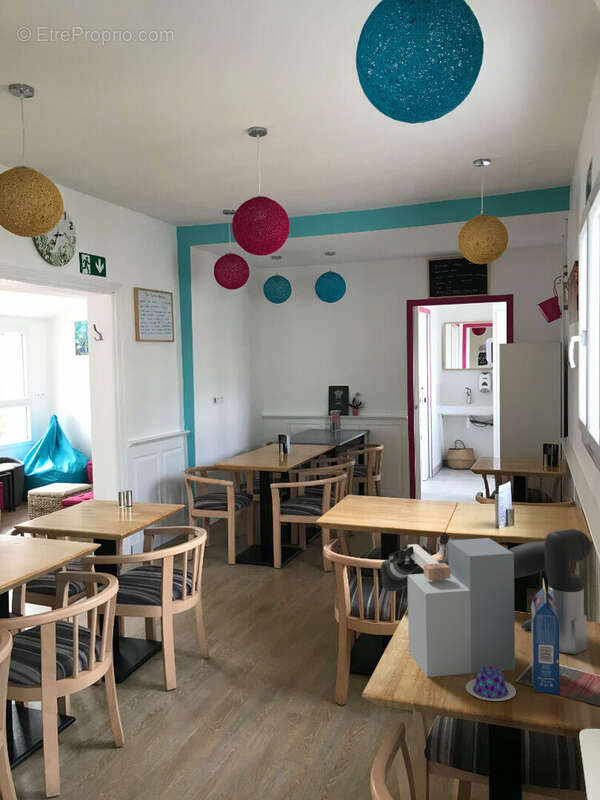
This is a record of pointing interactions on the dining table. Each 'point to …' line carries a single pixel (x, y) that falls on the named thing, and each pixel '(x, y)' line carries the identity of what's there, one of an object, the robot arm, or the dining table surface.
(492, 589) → the riser
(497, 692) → the pudding
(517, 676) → the dining table surface
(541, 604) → the blue food package
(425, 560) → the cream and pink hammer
